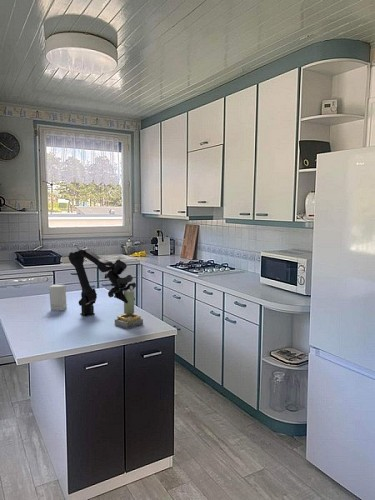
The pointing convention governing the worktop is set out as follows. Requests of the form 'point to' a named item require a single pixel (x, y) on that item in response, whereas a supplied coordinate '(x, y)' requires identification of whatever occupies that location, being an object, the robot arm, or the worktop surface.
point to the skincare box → (57, 297)
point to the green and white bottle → (129, 301)
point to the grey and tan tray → (128, 321)
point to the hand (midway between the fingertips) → (130, 301)
